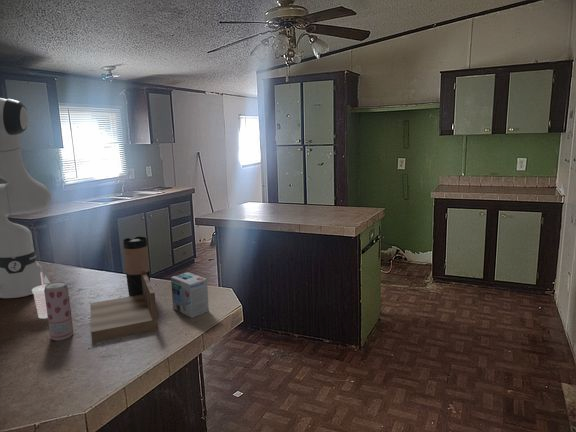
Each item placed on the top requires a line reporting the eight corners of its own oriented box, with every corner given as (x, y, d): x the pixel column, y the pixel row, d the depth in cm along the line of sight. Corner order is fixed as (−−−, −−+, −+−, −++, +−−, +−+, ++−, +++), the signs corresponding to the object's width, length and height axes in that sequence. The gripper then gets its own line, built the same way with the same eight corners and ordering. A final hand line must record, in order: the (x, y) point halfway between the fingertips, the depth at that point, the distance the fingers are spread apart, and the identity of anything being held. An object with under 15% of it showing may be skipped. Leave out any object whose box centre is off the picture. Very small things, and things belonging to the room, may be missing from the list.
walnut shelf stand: (91, 312, 132) (87, 278, 130) (147, 302, 139) (144, 270, 137) (92, 342, 112) (87, 304, 110) (157, 329, 120) (154, 292, 117)
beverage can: (49, 342, 113) (42, 290, 110) (51, 333, 118) (44, 283, 115) (73, 338, 115) (66, 286, 112) (74, 329, 120) (68, 280, 117)
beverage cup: (30, 318, 129) (24, 274, 126) (48, 310, 134) (42, 268, 131) (45, 320, 126) (39, 276, 124) (62, 312, 132) (57, 270, 129)
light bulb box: (172, 308, 134) (169, 276, 132) (190, 302, 138) (188, 271, 136) (191, 318, 126) (189, 284, 124) (209, 311, 131) (208, 278, 129)
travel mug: (144, 299, 141) (139, 242, 137) (123, 298, 143) (118, 241, 139) (155, 291, 148) (151, 236, 145) (136, 290, 150) (131, 236, 146)
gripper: (-37, 253, 90) (22, 284, 99) (-51, 238, 104) (1, 266, 113) (-60, 278, 88) (2, 308, 96) (-71, 259, 102) (-16, 287, 110)
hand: (1, 285), depth 105 cm, fingers open, 8 cm apart
